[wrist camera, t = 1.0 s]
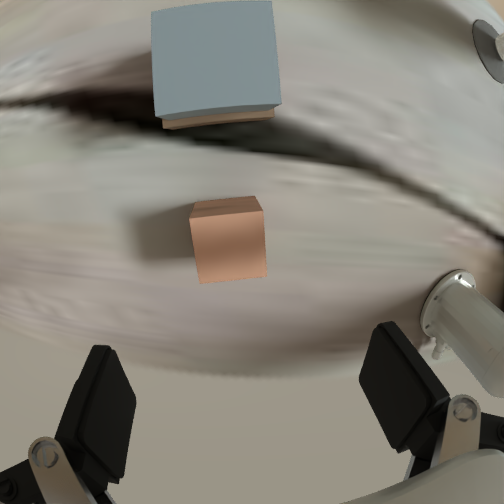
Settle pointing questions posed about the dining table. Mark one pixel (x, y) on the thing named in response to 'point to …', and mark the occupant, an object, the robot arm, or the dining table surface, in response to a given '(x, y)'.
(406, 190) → the dining table surface
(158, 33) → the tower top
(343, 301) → the dining table surface
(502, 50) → the cup
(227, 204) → the terracotta cube
